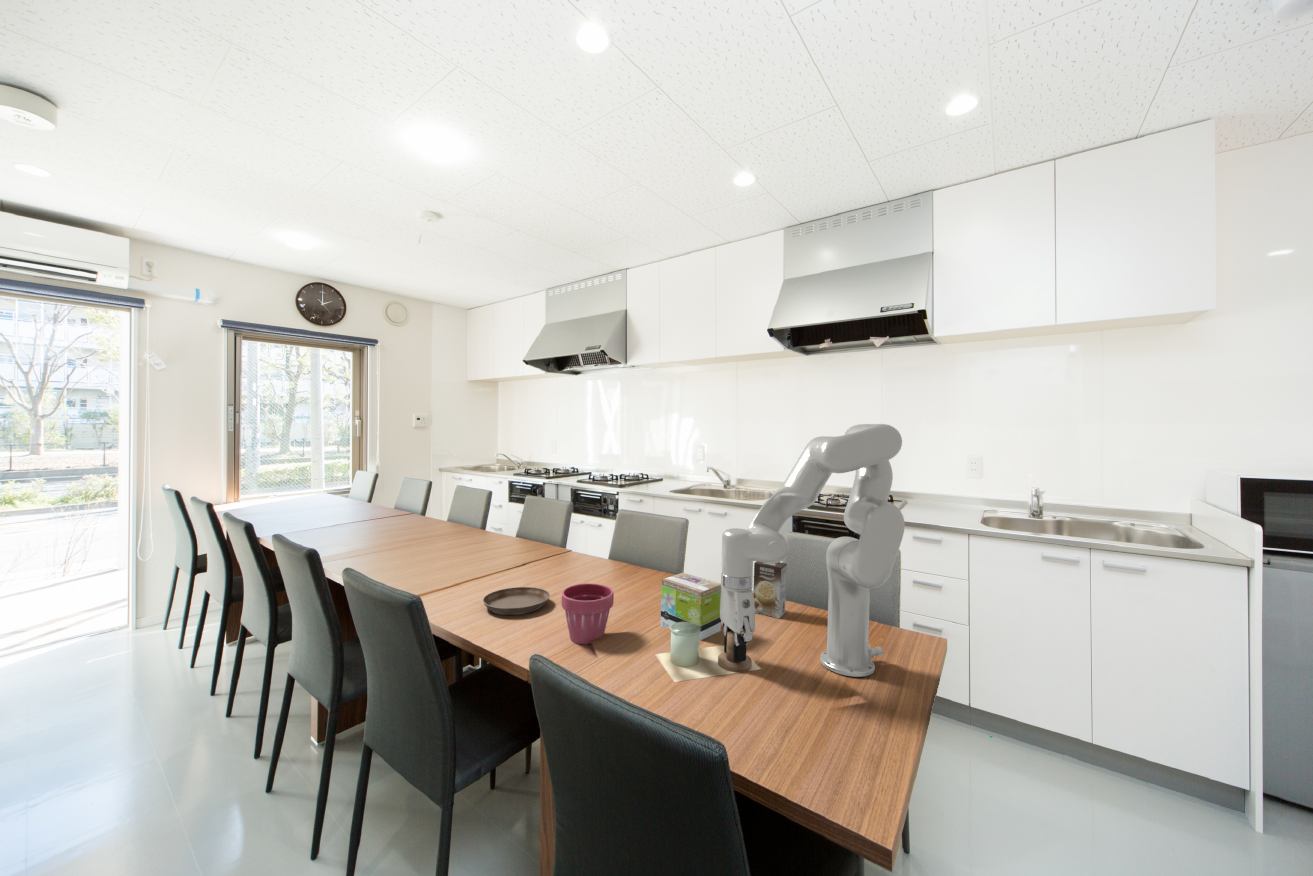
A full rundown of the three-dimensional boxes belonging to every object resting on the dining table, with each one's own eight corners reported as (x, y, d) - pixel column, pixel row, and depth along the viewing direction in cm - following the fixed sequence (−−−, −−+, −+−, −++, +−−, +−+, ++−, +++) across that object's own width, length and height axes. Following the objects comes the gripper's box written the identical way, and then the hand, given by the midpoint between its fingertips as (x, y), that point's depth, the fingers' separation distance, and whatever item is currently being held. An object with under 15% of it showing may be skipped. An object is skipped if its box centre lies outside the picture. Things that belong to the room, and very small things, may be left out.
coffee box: (751, 612, 154) (752, 562, 154) (758, 606, 159) (759, 558, 159) (779, 619, 149) (781, 567, 149) (786, 612, 154) (787, 562, 154)
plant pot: (603, 652, 124) (604, 602, 124) (552, 645, 127) (553, 597, 127) (618, 629, 138) (619, 585, 138) (572, 624, 141) (573, 581, 141)
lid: (741, 654, 122) (742, 626, 122) (757, 669, 114) (758, 639, 114) (712, 658, 119) (713, 629, 119) (727, 674, 112) (728, 643, 112)
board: (733, 648, 128) (733, 643, 128) (761, 673, 115) (761, 668, 115) (654, 659, 121) (654, 654, 121) (674, 687, 108) (674, 682, 108)
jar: (692, 652, 123) (693, 620, 122) (704, 665, 116) (705, 632, 116) (665, 655, 120) (666, 623, 120) (676, 669, 113) (676, 635, 113)
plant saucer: (479, 600, 160) (479, 590, 160) (542, 592, 169) (542, 583, 169) (485, 623, 141) (486, 611, 141) (556, 613, 150) (556, 602, 150)
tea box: (659, 629, 139) (660, 578, 139) (681, 619, 147) (682, 571, 147) (700, 645, 129) (701, 590, 129) (722, 634, 137) (723, 582, 136)
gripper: (768, 590, 110) (766, 670, 110) (734, 570, 126) (732, 640, 126) (739, 593, 107) (737, 675, 108) (708, 572, 123) (706, 643, 124)
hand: (734, 655), depth 117 cm, fingers closed on lid, 4 cm apart
